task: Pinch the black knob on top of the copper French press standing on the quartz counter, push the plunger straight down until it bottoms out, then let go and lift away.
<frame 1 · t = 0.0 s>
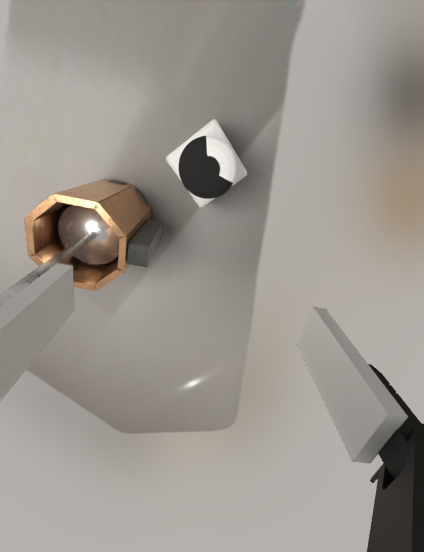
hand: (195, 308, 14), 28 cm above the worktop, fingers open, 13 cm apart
press carafe: (117, 215, 40), on the worktop
medicine bottle: (206, 163, 37), on the worktop
plunger: (44, 270, 22), point 20 cm above the worktop, slide at 8.0 cm
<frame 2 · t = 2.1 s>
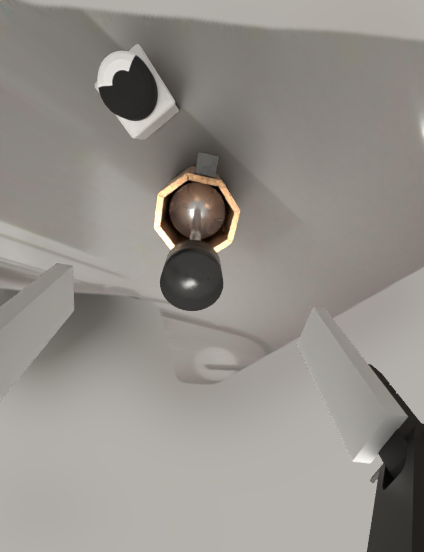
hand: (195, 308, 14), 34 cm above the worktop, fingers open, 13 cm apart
press carafe: (198, 199, 44), on the worktop
medicine bottle: (146, 103, 38), on the worktop
plunger: (195, 234, 26), point 20 cm above the worktop, slide at 8.0 cm
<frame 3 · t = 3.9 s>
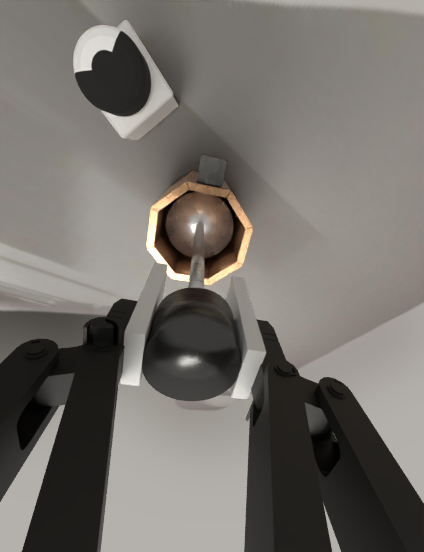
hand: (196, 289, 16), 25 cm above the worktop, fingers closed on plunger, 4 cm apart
press carafe: (200, 209, 38), on the worktop
medicine bottle: (140, 96, 32), on the worktop
plunger: (197, 261, 20), point 20 cm above the worktop, slide at 8.0 cm, touching gripper
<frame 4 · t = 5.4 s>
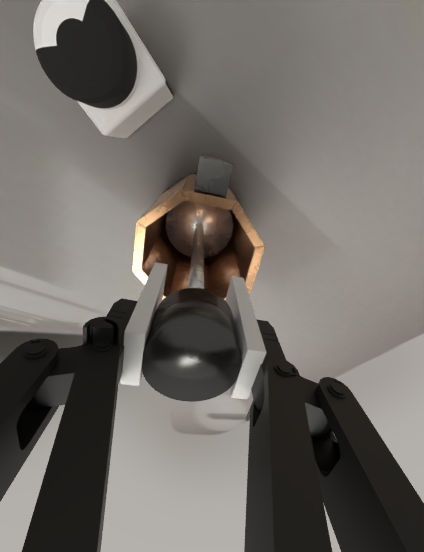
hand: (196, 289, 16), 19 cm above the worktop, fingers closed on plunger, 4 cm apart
press carafe: (199, 217, 33), on the worktop
medicine bottle: (127, 86, 27), on the worktop
plunger: (197, 261, 20), point 15 cm above the worktop, slide at 2.5 cm, touching gripper
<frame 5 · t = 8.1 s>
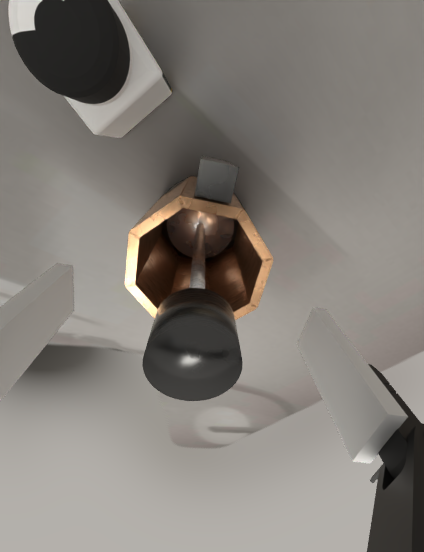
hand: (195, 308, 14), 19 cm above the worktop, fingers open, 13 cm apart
press carafe: (200, 223, 31), on the worktop
medicine bottle: (122, 82, 25), on the worktop
plunger: (198, 261, 20), point 12 cm above the worktop, slide at -0.1 cm
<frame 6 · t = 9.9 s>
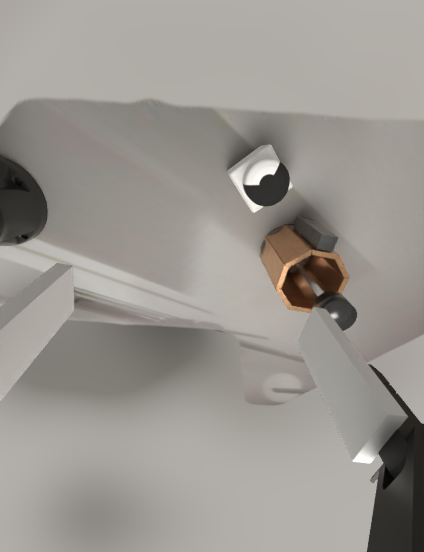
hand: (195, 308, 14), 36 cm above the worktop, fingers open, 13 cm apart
press carafe: (286, 251, 51), on the worktop
medicine bottle: (254, 176, 45), on the worktop
plunger: (307, 277, 40), point 12 cm above the worktop, slide at -0.1 cm
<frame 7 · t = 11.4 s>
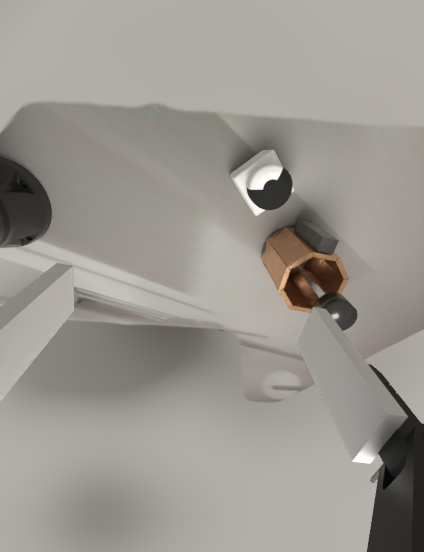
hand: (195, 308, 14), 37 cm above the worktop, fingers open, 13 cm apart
press carafe: (287, 252, 52), on the worktop
medicine bottle: (256, 179, 46), on the worktop
plunger: (308, 278, 42), point 12 cm above the worktop, slide at -0.1 cm
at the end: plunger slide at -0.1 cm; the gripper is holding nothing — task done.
